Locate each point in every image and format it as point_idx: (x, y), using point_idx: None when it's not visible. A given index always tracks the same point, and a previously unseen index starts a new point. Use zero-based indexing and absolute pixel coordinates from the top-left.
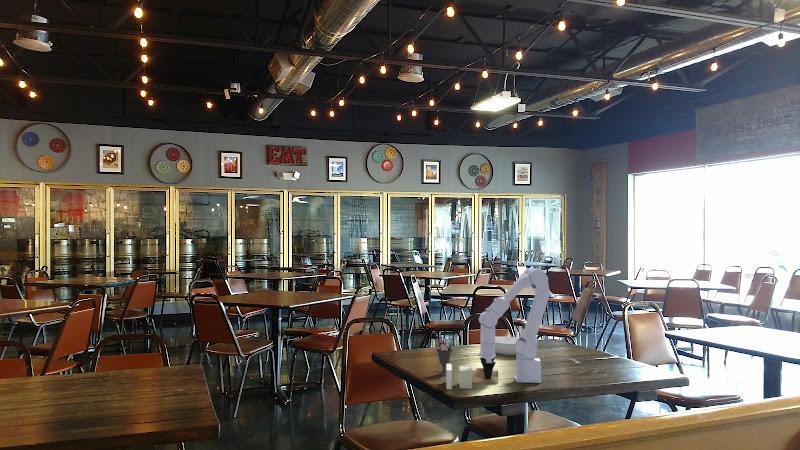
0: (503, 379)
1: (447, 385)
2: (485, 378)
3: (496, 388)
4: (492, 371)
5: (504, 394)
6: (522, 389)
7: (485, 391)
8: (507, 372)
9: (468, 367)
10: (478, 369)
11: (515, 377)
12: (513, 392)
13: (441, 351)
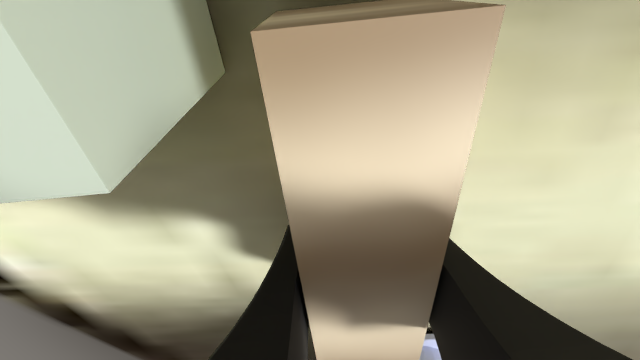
0: None
1: None
2: (286, 229)
3: (154, 268)
4: (312, 333)
5: (30, 306)
6: (206, 356)
7: (2, 212)
8: (607, 301)
9: None
10: (358, 227)
11: (431, 342)
12: (115, 334)
13: None
